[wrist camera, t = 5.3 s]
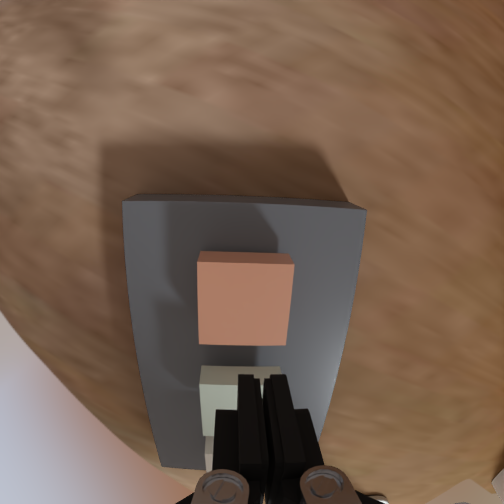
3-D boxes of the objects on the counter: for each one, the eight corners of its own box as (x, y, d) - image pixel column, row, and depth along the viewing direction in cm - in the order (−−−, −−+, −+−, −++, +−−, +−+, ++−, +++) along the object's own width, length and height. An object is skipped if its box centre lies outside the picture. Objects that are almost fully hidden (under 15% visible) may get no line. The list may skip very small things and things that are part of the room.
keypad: (304, 445, 28) (310, 467, 25) (165, 444, 27) (161, 466, 24) (349, 202, 21) (366, 210, 18) (137, 194, 20) (122, 201, 17)
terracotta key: (281, 329, 19) (285, 345, 17) (201, 327, 19) (199, 344, 17) (288, 253, 18) (294, 264, 16) (200, 250, 17) (197, 261, 15)
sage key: (273, 417, 20) (276, 436, 18) (204, 417, 20) (202, 435, 18) (279, 366, 19) (283, 384, 17) (201, 365, 18) (199, 384, 17)
